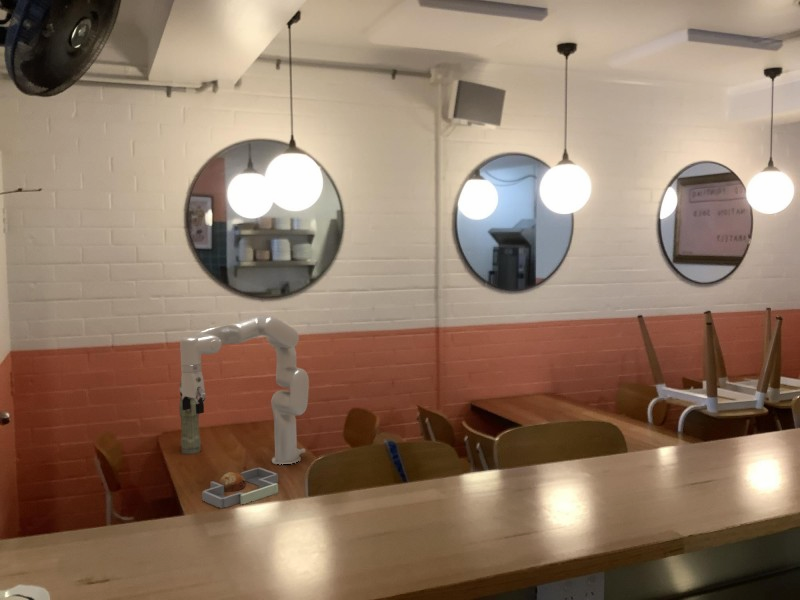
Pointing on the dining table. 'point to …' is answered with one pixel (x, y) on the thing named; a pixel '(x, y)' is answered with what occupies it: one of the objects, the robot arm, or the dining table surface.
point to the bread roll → (232, 482)
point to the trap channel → (253, 476)
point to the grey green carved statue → (189, 428)
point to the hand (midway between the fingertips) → (193, 411)
